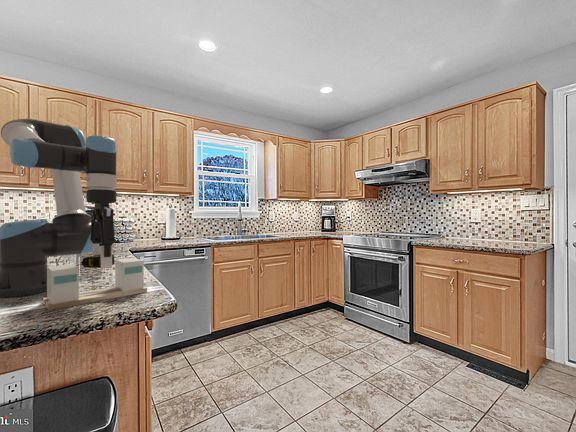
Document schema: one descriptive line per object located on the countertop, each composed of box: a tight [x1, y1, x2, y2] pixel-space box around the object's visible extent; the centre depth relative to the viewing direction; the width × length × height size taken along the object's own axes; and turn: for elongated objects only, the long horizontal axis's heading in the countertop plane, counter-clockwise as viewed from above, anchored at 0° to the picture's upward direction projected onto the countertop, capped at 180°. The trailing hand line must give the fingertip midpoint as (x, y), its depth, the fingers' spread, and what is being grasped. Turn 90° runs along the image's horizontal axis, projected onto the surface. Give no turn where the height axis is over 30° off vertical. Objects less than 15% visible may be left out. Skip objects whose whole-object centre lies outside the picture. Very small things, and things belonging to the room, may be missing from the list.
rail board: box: [42, 285, 148, 311], centre depth 89 cm, size 10×25×2 cm, turn 136°
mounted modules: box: [46, 257, 145, 304], centre depth 89 cm, size 8×24×9 cm, turn 137°
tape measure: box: [80, 253, 115, 269], centre depth 86 cm, size 7×7×4 cm
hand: (102, 266), depth 86 cm, fingers closed on tape measure, 8 cm apart
